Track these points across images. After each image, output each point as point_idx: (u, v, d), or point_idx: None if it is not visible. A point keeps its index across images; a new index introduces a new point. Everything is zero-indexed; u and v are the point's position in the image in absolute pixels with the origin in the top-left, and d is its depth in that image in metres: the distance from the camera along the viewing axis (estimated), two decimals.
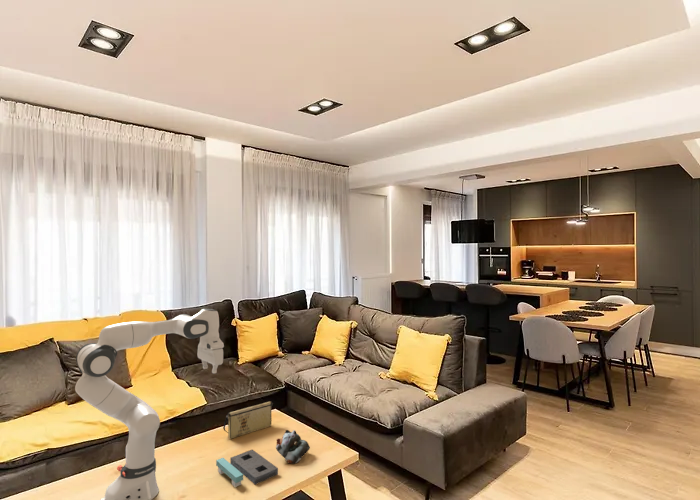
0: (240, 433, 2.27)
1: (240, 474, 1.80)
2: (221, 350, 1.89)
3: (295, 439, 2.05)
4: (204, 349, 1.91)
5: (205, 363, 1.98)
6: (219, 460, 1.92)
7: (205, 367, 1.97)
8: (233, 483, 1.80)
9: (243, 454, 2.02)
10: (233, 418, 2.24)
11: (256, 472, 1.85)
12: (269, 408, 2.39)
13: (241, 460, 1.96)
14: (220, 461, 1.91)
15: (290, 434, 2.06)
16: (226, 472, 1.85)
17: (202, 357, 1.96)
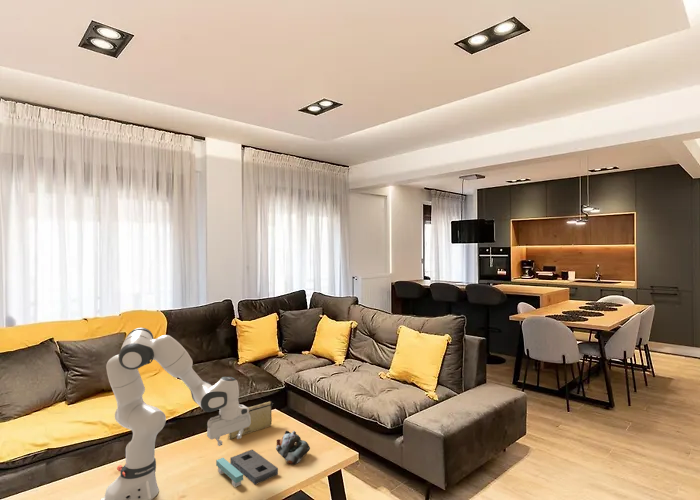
0: None
1: (240, 474, 1.80)
2: None
3: (295, 440, 2.05)
4: (234, 419, 1.85)
5: (218, 440, 1.83)
6: (219, 460, 1.92)
7: None
8: (233, 483, 1.80)
9: (243, 454, 2.02)
10: None
11: (256, 472, 1.85)
12: (269, 408, 2.39)
13: (241, 460, 1.96)
14: (220, 461, 1.91)
15: (290, 435, 2.05)
16: (226, 472, 1.85)
17: (223, 432, 1.82)
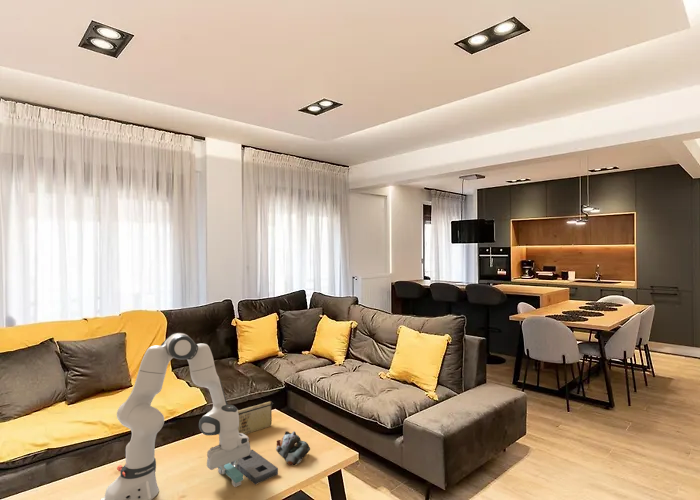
0: None
1: (240, 474, 1.80)
2: None
3: (295, 440, 2.04)
4: (234, 449, 1.85)
5: (223, 468, 1.85)
6: None
7: None
8: (233, 483, 1.80)
9: None
10: None
11: (256, 472, 1.85)
12: (269, 408, 2.39)
13: (241, 460, 1.96)
14: None
15: (290, 435, 2.05)
16: None
17: (223, 462, 1.82)
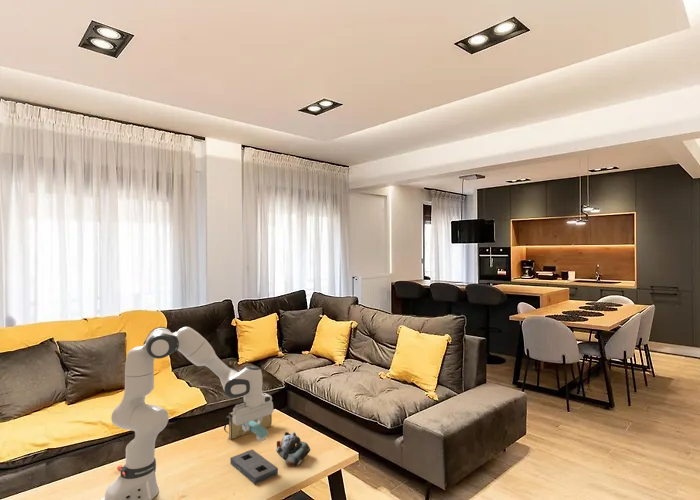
0: (240, 433, 2.27)
1: (265, 430, 1.88)
2: None
3: (295, 441, 2.03)
4: (258, 406, 1.92)
5: None
6: None
7: None
8: (258, 438, 1.88)
9: (243, 454, 2.02)
10: None
11: (256, 472, 1.85)
12: None
13: (241, 460, 1.96)
14: None
15: (290, 436, 2.04)
16: (251, 428, 1.92)
17: (248, 419, 1.90)
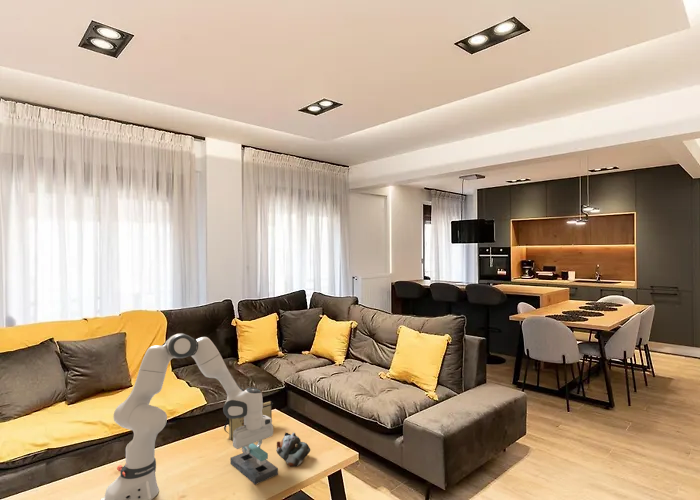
0: None
1: (265, 453, 1.88)
2: None
3: (295, 441, 2.03)
4: (258, 429, 1.93)
5: None
6: None
7: None
8: (258, 461, 1.88)
9: (243, 454, 2.02)
10: None
11: (256, 472, 1.85)
12: (269, 408, 2.39)
13: (241, 460, 1.96)
14: None
15: (290, 436, 2.03)
16: (251, 451, 1.92)
17: (248, 442, 1.90)
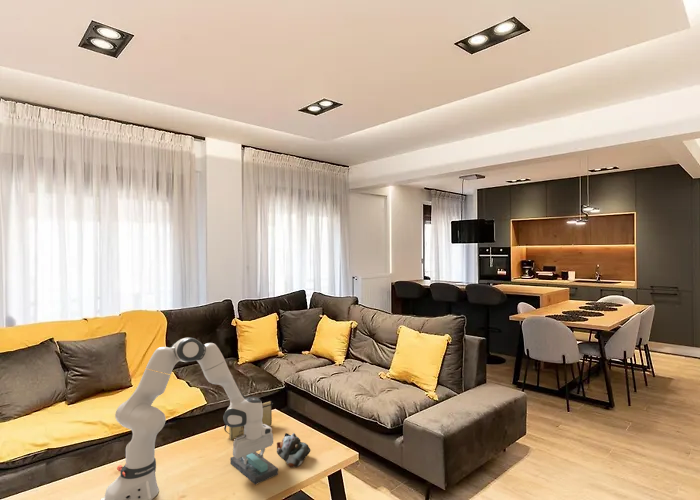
0: (241, 434, 2.27)
1: (264, 464, 1.88)
2: None
3: (295, 442, 2.02)
4: (258, 439, 1.92)
5: None
6: None
7: None
8: None
9: None
10: None
11: (256, 472, 1.85)
12: (269, 408, 2.39)
13: (241, 460, 1.96)
14: None
15: (290, 437, 2.03)
16: (250, 462, 1.92)
17: (248, 452, 1.90)
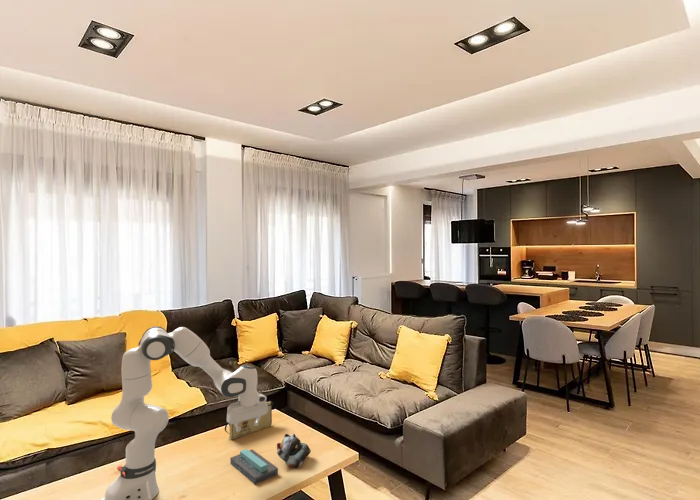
0: (241, 434, 2.27)
1: (264, 464, 1.88)
2: None
3: (296, 443, 2.01)
4: (252, 406, 1.92)
5: None
6: (243, 451, 2.00)
7: None
8: None
9: None
10: None
11: (256, 472, 1.85)
12: (269, 408, 2.39)
13: (241, 460, 1.96)
14: (244, 452, 1.99)
15: (290, 438, 2.02)
16: (250, 462, 1.92)
17: (241, 418, 1.90)
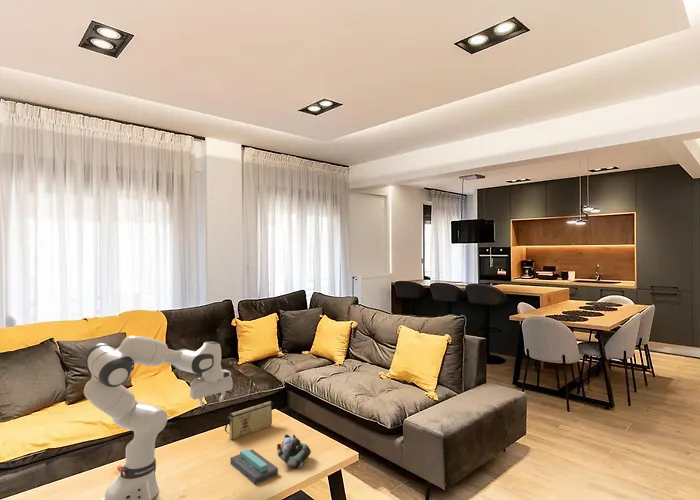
0: (241, 434, 2.26)
1: (264, 464, 1.88)
2: None
3: (296, 443, 2.01)
4: (216, 381, 1.94)
5: None
6: (243, 451, 2.00)
7: None
8: None
9: None
10: (235, 419, 2.24)
11: (256, 472, 1.85)
12: (269, 408, 2.39)
13: (241, 460, 1.96)
14: (244, 452, 1.99)
15: (290, 438, 2.01)
16: (250, 462, 1.92)
17: (205, 393, 1.91)
